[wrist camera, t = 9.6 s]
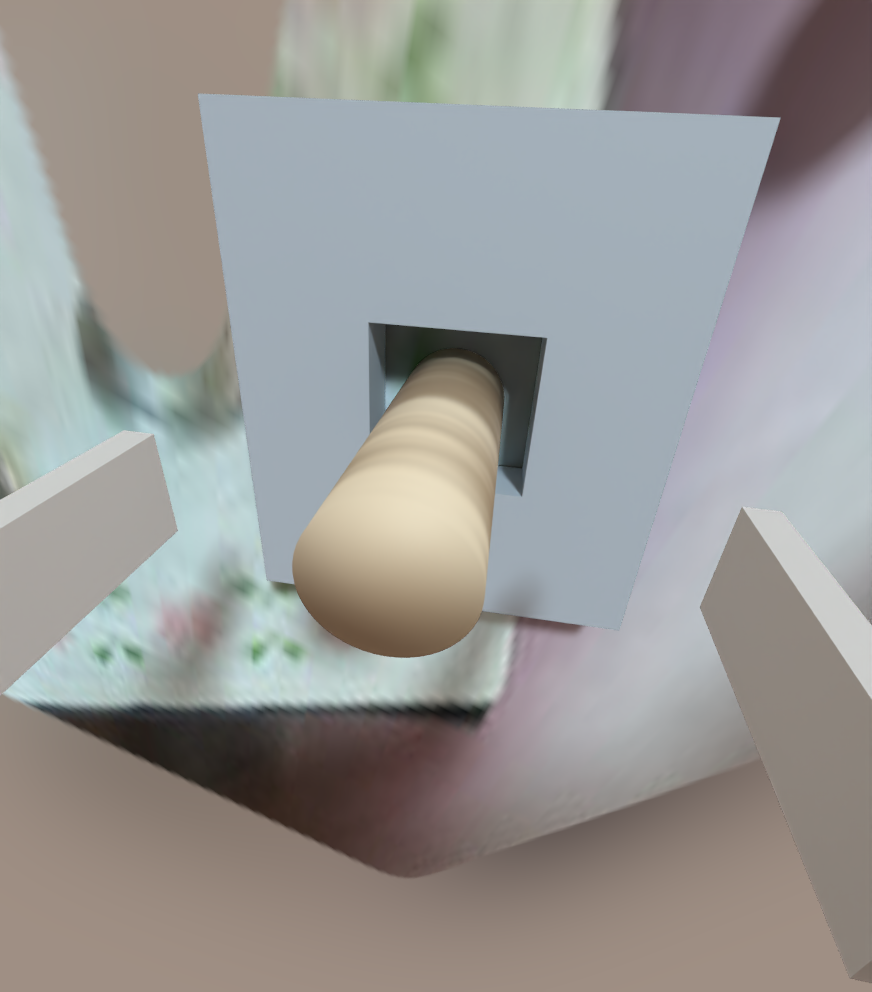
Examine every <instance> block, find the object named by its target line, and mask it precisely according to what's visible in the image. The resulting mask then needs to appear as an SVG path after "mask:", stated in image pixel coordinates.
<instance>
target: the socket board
mask: <svg viewBox="0 0 872 992" xmlns="http://www.w3.org/2000/svg"><path fill="white" fill-rule="evenodd" d="M198 98H199V105H200V112H201V119H202V127H203V133H204V141H205V148H206V154H207V162H208V169H209V176H210V183H211V190H212V197H213V204H214V211H215V218H216V225H217V232H218V239H219V245H220V253H221V260H222V267H223V274H224V281H225V288H226V296H227V303H228V310H229V317H230V324H231V331H232V338H233V345H234V352H235V359H236V366H237V373H238V380H239V387H240V394H241V401H242V408H243V415H244V422H245V429H246V436H247V443H248V450H249V457H250V465H251V472H252V479H253V486H254V493H255V500H256V507H257V514H258V521H259V528H260V535H261V542H262V549H263V556H264V563H265V570H266V577H267V580H269V581H276V582H283V583H290V584H294V579H293V574H292V561H293V553H294V550H295V547H296V544H297V542H298V540H299V538H300V536H301V534H302V533H303V531H304V530H305V529H306V527H307V526H308V524H309V523H310V521H311V520H312V518H313V517H314V515H315V514H316V512H317V511H318V509H319V508H320V507H321V505H322V504H323V502H324V501H325V499H326V498H327V496H328V495H329V493H330V492H331V490H332V489H333V487H334V486H335V484H336V483H337V482H338V480H339V479H340V477H341V476H342V474H343V473H344V471H345V470H346V468H347V467H348V465H349V464H350V462H351V461H352V460H353V458H354V457H355V455H356V454H357V452H358V451H359V449H360V448H361V446H362V445H363V443H364V442H365V440H366V439H367V437H368V436H369V435H370V433H371V432H372V430H373V429H374V427H375V426H376V424H377V423H378V421H379V420H380V418H381V417H382V415H383V414H384V413H385V327H386V324H393V325H405V326H416V327H428V328H439V329H451V330H462V331H474V332H485V333H497V334H508V335H520V336H532V337H542V344H541V350H540V357H539V363H538V370H537V376H536V383H535V389H534V396H533V402H532V409H531V415H530V422H529V428H528V435H527V441H526V448H525V454H524V461H523V467H522V468H514V467H505V466H498V469H497V479H496V489H495V499H494V509H493V519H492V529H491V539H490V549H489V560H488V570H487V580H486V590H485V600H484V605H483V609H482V611H486V612H493V613H500V614H507V615H514V616H521V617H528V618H535V619H542V620H549V621H556V622H563V623H570V624H577V625H584V626H591V627H598V628H605V629H612V630H620V626H621V623H622V620H623V617H624V614H625V611H626V607H627V604H628V601H629V598H630V595H631V592H632V588H633V585H634V582H635V579H636V576H637V572H638V569H639V566H640V563H641V560H642V557H643V553H644V550H645V547H646V544H647V541H648V538H649V534H650V531H651V528H652V525H653V522H654V518H655V515H656V512H657V509H658V506H659V503H660V499H661V496H662V493H663V490H664V487H665V484H666V480H667V477H668V474H669V471H670V468H671V464H672V461H673V458H674V455H675V452H676V449H677V445H678V442H679V439H680V436H681V433H682V430H683V426H684V423H685V420H686V417H687V414H688V410H689V407H690V404H691V401H692V398H693V395H694V391H695V388H696V385H697V382H698V379H699V376H700V372H701V369H702V366H703V363H704V360H705V356H706V353H707V350H708V347H709V344H710V341H711V337H712V334H713V331H714V328H715V325H716V322H717V318H718V315H719V312H720V309H721V306H722V302H723V299H724V296H725V293H726V290H727V287H728V283H729V280H730V277H731V274H732V271H733V268H734V264H735V261H736V258H737V255H738V252H739V249H740V245H741V242H742V239H743V236H744V233H745V229H746V226H747V223H748V220H749V217H750V214H751V210H752V207H753V204H754V201H755V198H756V195H757V191H758V188H759V185H760V182H761V179H762V175H763V172H764V169H765V166H766V163H767V160H768V156H769V153H770V150H771V147H772V144H773V141H774V137H775V134H776V131H777V128H778V125H779V121H780V118H778V117H754V116H729V115H705V114H681V113H657V112H632V111H608V110H584V109H559V108H535V107H511V106H486V105H462V104H438V103H413V102H389V101H365V100H341V99H316V98H292V97H268V96H242V95H217V94H198Z"/></svg>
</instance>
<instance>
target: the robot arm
mask: <svg viewBox="0 0 872 992" xmlns="http://www.w3.org/2000/svg"><path fill="white" fill-rule="evenodd" d="M177 531H178V529H177V525H176V521H175V517H174V513H173V510H172V506H171V502H170V498H169V494H168V490H167V486H166V482H165V478H164V474H163V470H162V466H161V462H160V458H159V454H158V450H157V446H156V442H155V438H154V434H149V433H140V432H132V431H122V432H120V433H118V434H117V435H115V436H113V437H111V438H110V439H108V440H106V441H104V442H102V443H101V444H99V445H97V446H95V447H94V448H92V449H90V450H88V451H86V452H85V453H83V454H81V455H79V456H78V457H76V458H74V459H72V460H70V461H69V462H67V463H65V464H63V465H62V466H60V467H58V468H56V469H54V470H53V471H51V472H49V473H47V474H46V475H44V476H42V477H40V478H38V479H37V480H35V481H33V482H31V483H30V484H28V485H26V486H24V487H22V488H21V489H19V490H17V491H15V492H14V493H12V494H10V495H8V496H6V497H5V498H3V499H1V500H0V695H1V694H2V693H4V692H5V691H6V690H7V689H8V688H9V687H10V686H11V685H12V684H13V683H14V682H15V681H16V680H18V679H19V678H20V677H21V676H22V675H23V674H24V673H25V672H26V671H27V670H28V669H29V668H30V667H32V666H33V665H34V664H35V663H36V662H37V661H38V660H39V659H40V658H41V657H42V656H43V655H44V654H46V653H47V652H48V651H49V650H50V649H51V648H52V647H53V646H54V645H55V644H56V643H57V642H58V641H60V640H61V639H62V638H63V637H64V636H65V635H66V634H67V633H68V632H69V631H70V630H71V629H72V628H74V627H75V626H76V625H77V624H78V623H79V622H80V621H81V620H82V619H83V618H84V617H85V616H86V615H88V614H89V613H90V612H91V611H92V610H93V609H94V608H95V607H96V606H97V605H98V604H99V603H100V602H102V601H103V600H104V599H105V598H106V597H107V596H108V595H109V594H110V593H111V592H112V591H113V590H114V589H116V588H117V587H118V586H119V585H120V584H121V583H122V582H123V581H124V580H125V579H126V578H127V577H128V576H130V575H131V574H132V573H133V572H134V571H135V570H136V569H137V568H138V567H139V566H140V565H141V564H142V563H144V562H145V561H146V560H147V559H148V558H149V557H150V556H151V555H152V554H153V553H154V552H155V551H157V550H158V549H159V548H160V547H161V546H162V545H163V544H164V543H165V542H166V541H167V540H168V539H169V538H171V537H172V536H173V535H174V534H175V533H176V532H177ZM700 609H701V611H702V614H703V616H704V619H705V621H706V624H707V626H708V629H709V631H710V634H711V636H712V639H713V641H714V643H715V646H716V648H717V651H718V653H719V656H720V658H721V661H722V663H723V666H724V668H725V671H726V673H727V676H728V678H729V681H730V683H731V686H732V688H733V691H734V693H735V696H736V698H737V700H738V703H739V705H740V708H741V710H742V713H743V715H744V718H745V720H746V723H747V725H748V728H749V730H750V733H751V735H752V738H753V740H754V743H755V745H756V748H757V750H758V753H759V755H760V757H761V760H762V762H763V765H764V767H765V770H766V772H767V775H768V777H769V780H770V782H771V785H772V787H773V789H774V792H775V795H776V797H777V799H778V802H779V804H780V807H781V809H782V812H783V814H784V817H785V819H786V822H787V824H788V827H789V829H790V832H791V834H792V837H793V839H794V842H795V844H796V847H797V849H798V851H799V854H800V856H801V859H802V861H803V864H804V866H805V869H806V871H807V874H808V876H809V879H810V881H811V884H812V886H813V889H814V891H815V894H816V896H817V899H818V901H819V903H820V906H821V909H822V911H823V914H824V916H825V919H826V921H827V923H828V926H829V928H830V931H831V933H832V935H833V938H834V941H835V943H836V946H837V948H838V951H839V953H840V956H841V958H842V961H843V963H844V965H845V968H846V971H847V973H848V976H849V978H851V979H855V980H860V981H865V982H869V983H872V625H871V624H870V623H869V622H868V620H867V619H866V618H865V616H864V615H863V614H862V613H861V611H860V610H859V609H858V608H857V606H856V605H855V604H854V603H853V601H852V600H851V599H850V597H849V596H848V595H847V594H846V592H845V591H844V590H843V589H842V587H841V586H840V585H839V583H838V582H837V581H836V580H835V578H834V577H833V576H832V575H831V573H830V572H829V571H828V570H827V568H826V567H825V566H824V564H823V563H822V562H821V561H820V559H819V558H818V557H817V556H816V554H815V553H814V552H813V551H812V549H811V548H810V547H809V545H808V544H807V543H806V542H805V540H804V539H803V538H802V537H801V535H800V534H799V533H798V532H797V530H796V529H795V528H794V526H793V525H792V524H791V523H790V521H789V520H788V519H787V518H786V516H785V515H784V514H783V513H782V512H781V511H773V510H765V509H756V508H748V507H742V508H741V510H740V513H739V515H738V518H737V520H736V522H735V525H734V527H733V530H732V532H731V534H730V537H729V539H728V541H727V544H726V546H725V549H724V551H723V553H722V556H721V558H720V560H719V563H718V565H717V568H716V570H715V572H714V575H713V577H712V579H711V582H710V584H709V587H708V589H707V591H706V594H705V596H704V599H703V601H702V603H701V606H700Z"/></svg>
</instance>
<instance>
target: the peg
mask: <svg viewBox="0 0 872 992" xmlns="http://www.w3.org/2000/svg"><path fill="white" fill-rule="evenodd" d="M503 409H504V389H503V384H502V381H501V379H500V377H499V375H498V373H497V371H496V370H495V368H494V367H493V366H492V365H491V364H490V363H489V362H488V361H487V360H486V359H485V358H483V357H482V356H480V355H478V354H476V353H474V352H472V351H469V350H465V349H459V348H449V349H443V350H439V351H436V352H434V353H432V354H430V355H428V356H427V357H425V358H424V359H423V360H422V361H421V362H420V363H419V364H418V365H417V366H416V367H415V369H414V370H413V371H412V373H411V374H410V376H409V377H408V379H407V380H406V382H405V383H404V385H403V386H402V388H401V389H400V391H399V392H398V393H397V395H396V396H395V398H394V399H393V401H392V402H391V404H390V405H389V407H388V408H387V410H386V411H385V413H384V414H383V415H382V417H381V418H380V420H379V421H378V423H377V424H376V426H375V427H374V429H373V430H372V432H371V433H370V435H369V436H368V437H367V439H366V440H365V442H364V443H363V445H362V446H361V448H360V449H359V451H358V452H357V454H356V455H355V457H354V458H353V460H352V461H351V462H350V464H349V465H348V467H347V468H346V470H345V471H344V473H343V474H342V476H341V477H340V479H339V480H338V482H337V483H336V484H335V486H334V487H333V489H332V490H331V492H330V493H329V495H328V496H327V498H326V499H325V501H324V502H323V504H322V505H321V507H320V508H319V509H318V511H317V512H316V514H315V515H314V517H313V518H312V520H311V521H310V523H309V524H308V526H307V527H306V529H305V530H304V531H303V533H302V534H301V536H300V538H299V540H298V542H297V544H296V547H295V550H294V553H293V561H292V574H293V579H294V584H295V587H296V590H297V593H298V595H299V597H300V599H301V601H302V603H303V604H304V606H305V607H306V609H307V610H308V612H309V613H310V614H311V615H312V616H313V618H314V619H315V620H316V621H317V622H318V623H319V624H320V625H321V626H322V627H323V628H325V629H326V630H327V631H328V632H330V633H331V634H332V635H334V636H335V637H337V638H339V639H340V640H342V641H343V642H345V643H347V644H349V645H351V646H353V647H356V648H358V649H361V650H363V651H367V652H370V653H373V654H378V655H383V656H389V657H403V658H410V657H420V656H425V655H430V654H434V653H437V652H440V651H443V650H445V649H447V648H449V647H451V646H453V645H454V644H456V643H457V642H459V641H460V640H461V639H463V638H464V637H465V636H466V635H467V634H468V633H469V632H470V631H471V630H472V628H473V627H474V626H475V624H476V622H477V621H478V619H479V617H480V614H481V612H482V609H483V605H484V600H485V590H486V580H487V570H488V560H489V549H490V539H491V529H492V519H493V509H494V499H495V489H496V479H497V469H498V459H499V449H500V439H501V429H502V419H503Z"/></svg>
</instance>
